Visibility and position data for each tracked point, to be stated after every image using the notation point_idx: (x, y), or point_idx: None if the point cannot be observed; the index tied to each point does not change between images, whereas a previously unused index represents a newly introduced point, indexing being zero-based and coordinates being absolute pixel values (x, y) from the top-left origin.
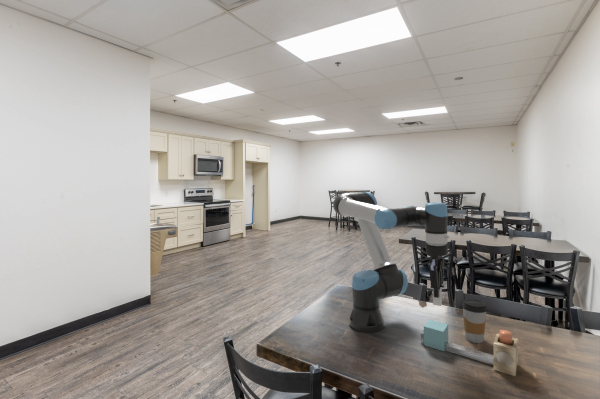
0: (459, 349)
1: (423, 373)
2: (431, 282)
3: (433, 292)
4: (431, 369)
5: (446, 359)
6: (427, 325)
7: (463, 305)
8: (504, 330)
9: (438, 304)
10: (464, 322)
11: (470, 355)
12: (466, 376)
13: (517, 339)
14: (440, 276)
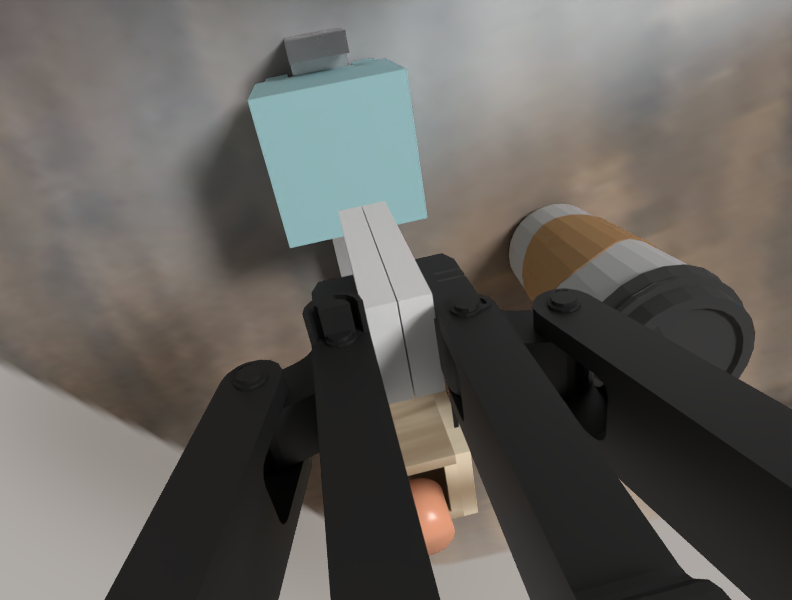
0: (341, 273)
1: (6, 221)
2: (181, 483)
3: (356, 280)
4: (82, 231)
5: (242, 237)
6: (288, 114)
7: (631, 299)
8: (447, 526)
9: (351, 270)
10: (567, 244)
11: None
12: (189, 353)
13: (469, 514)
14: (510, 544)
